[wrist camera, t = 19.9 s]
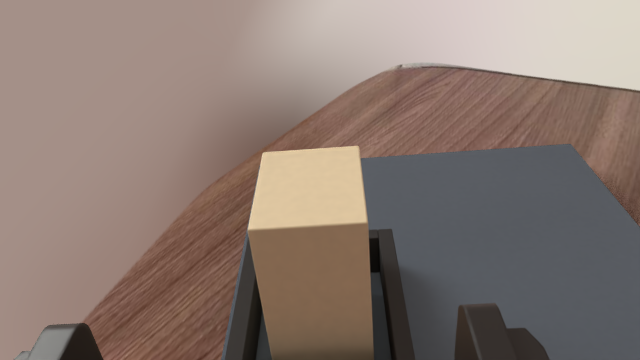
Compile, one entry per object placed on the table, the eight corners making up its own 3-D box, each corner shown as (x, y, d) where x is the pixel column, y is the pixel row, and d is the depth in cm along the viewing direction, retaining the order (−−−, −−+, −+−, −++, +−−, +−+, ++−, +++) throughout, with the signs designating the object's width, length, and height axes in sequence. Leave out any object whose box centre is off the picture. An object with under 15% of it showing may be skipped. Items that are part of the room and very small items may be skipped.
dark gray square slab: (213, 466, 24) (192, 402, 21) (262, 186, 43) (254, 136, 41) (776, 442, 23) (819, 371, 20) (566, 166, 42) (576, 113, 40)
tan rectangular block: (276, 386, 25) (246, 229, 20) (284, 294, 30) (262, 151, 25) (375, 381, 24) (368, 222, 20) (366, 289, 30) (359, 145, 25)
